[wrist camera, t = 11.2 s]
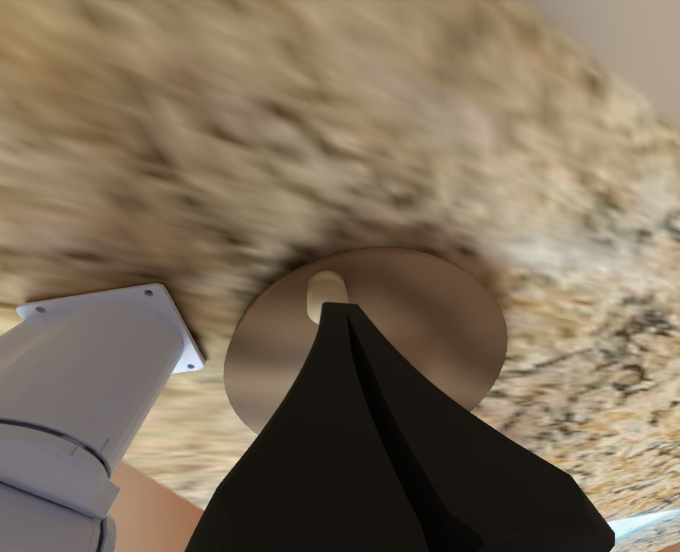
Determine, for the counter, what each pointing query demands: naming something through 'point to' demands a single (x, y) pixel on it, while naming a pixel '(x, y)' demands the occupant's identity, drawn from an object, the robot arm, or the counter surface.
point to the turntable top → (386, 314)
